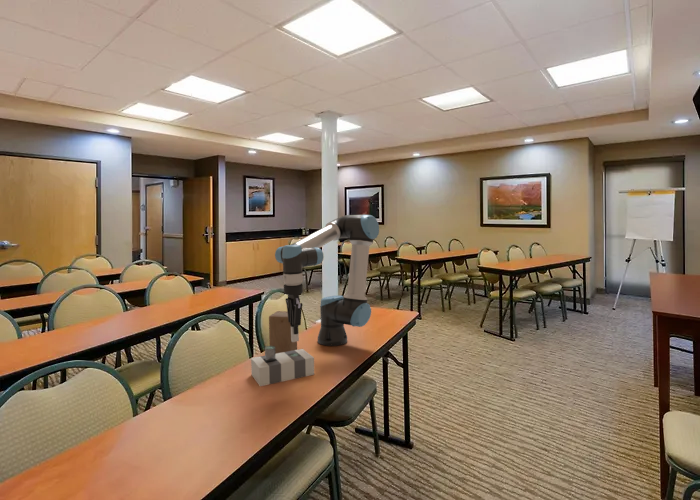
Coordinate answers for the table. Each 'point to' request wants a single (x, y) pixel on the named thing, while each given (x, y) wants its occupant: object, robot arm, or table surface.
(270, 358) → the peg
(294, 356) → the peg
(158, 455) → the table surface
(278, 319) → the wooden block
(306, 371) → the socket board
